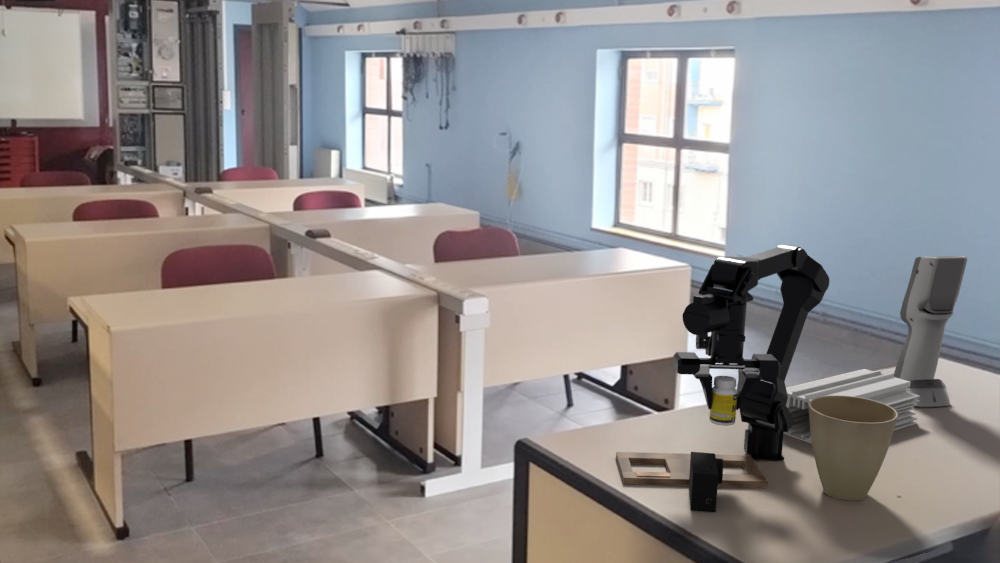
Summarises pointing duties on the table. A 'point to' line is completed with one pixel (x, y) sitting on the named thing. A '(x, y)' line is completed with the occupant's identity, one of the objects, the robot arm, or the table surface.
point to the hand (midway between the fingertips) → (722, 408)
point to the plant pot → (849, 442)
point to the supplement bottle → (723, 401)
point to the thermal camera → (928, 324)
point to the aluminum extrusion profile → (854, 385)
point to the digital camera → (704, 481)
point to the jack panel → (685, 469)
